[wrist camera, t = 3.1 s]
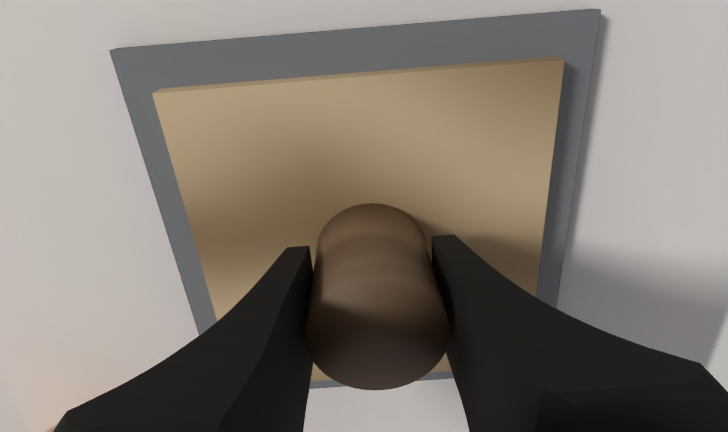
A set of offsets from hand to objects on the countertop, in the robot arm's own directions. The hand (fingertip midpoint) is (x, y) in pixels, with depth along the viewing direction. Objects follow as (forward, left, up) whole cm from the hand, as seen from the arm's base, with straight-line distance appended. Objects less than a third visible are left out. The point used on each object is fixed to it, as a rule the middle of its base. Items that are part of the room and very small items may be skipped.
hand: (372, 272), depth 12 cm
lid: (0, 0, -2) cm, 2 cm away
